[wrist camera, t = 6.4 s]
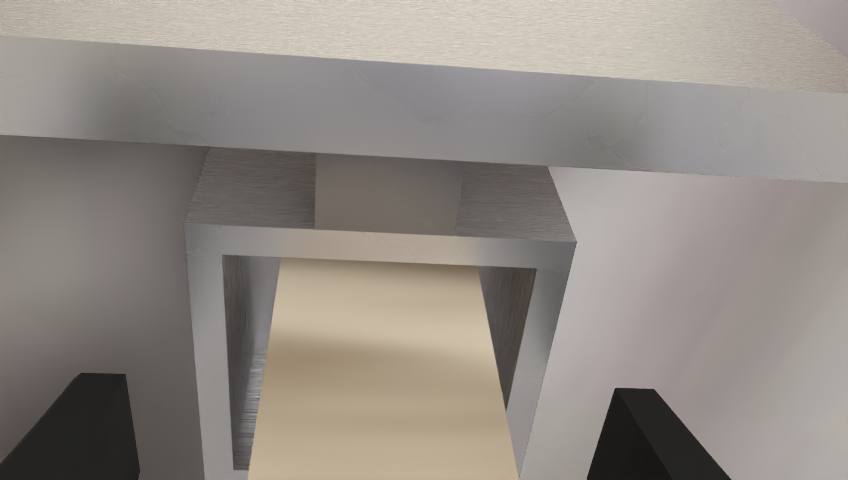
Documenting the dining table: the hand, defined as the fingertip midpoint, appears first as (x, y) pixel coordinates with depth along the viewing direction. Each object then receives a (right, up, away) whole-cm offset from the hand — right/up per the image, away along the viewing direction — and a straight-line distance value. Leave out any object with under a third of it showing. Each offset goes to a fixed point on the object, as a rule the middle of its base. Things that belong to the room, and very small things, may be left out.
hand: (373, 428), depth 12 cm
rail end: (0, +2, +3) cm, 4 cm away
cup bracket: (0, +5, +5) cm, 7 cm away
